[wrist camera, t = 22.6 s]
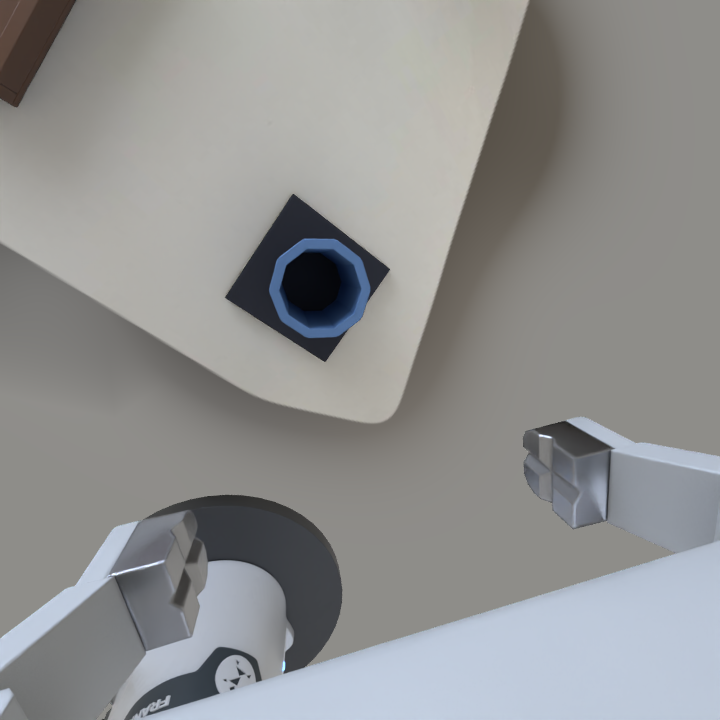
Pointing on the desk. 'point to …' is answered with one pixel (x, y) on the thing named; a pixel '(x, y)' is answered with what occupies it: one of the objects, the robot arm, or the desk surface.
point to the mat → (299, 273)
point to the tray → (26, 41)
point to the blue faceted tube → (338, 312)
